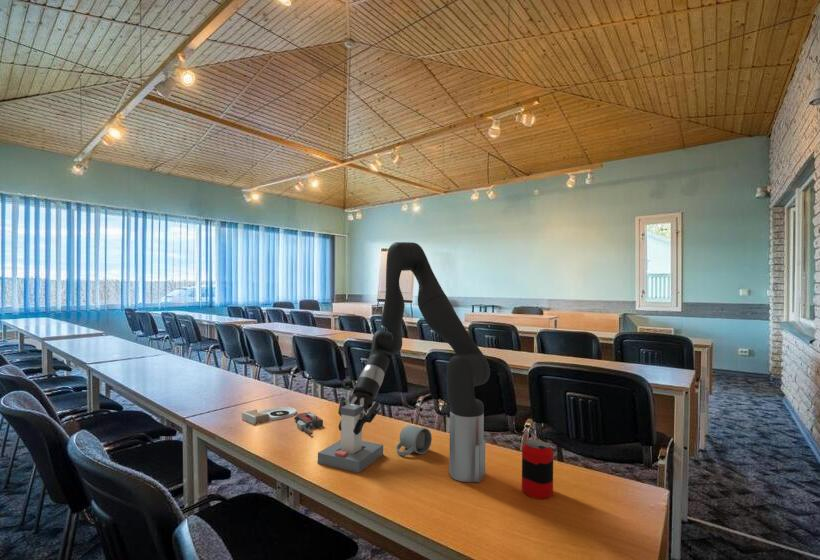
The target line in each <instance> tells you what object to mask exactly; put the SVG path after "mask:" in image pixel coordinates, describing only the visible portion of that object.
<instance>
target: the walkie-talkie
mask: <svg viewBox="0 0 820 560" xmlns="http://www.w3.org/2000/svg"><path fill="white" fill-rule="evenodd" d="M293 419H294V420H295V422H296V428H297V429H298V430H299V431H305V433H307V434H309V435H311V436H312V435H313V434H314V433H313V431H312V430H313V429H317V428H318V429H319V428H322V427H324V420H323V419H322V418H321V417H319V416H318V415H316V414H315V413H313V412H310V411H306V412H301V413H296V415H295V416H294V417H293Z"/></svg>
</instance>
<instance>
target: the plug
mask: <svg viewBox="0 0 820 560" xmlns="http://www.w3.org/2000/svg"><path fill="white" fill-rule="evenodd" d="M362 408H363V406H362V405H356V404H350V403H348V405H345V406H343V407H341V416H340V417H341V418H340V421H341V431H340V440H341V451H345V452H348V453H350V454H355V453H356V452H358V451H359V450H361V449H362V441H363V429H362V430H361V432H360V433H358V435H356V434H355V433H354V432H353V430H354V428H355V426H356V423H357V421H358V420H359V416H360V414H361V410H362Z"/></svg>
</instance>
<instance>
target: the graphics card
mask: <svg viewBox="0 0 820 560" xmlns="http://www.w3.org/2000/svg"><path fill="white" fill-rule="evenodd" d="M296 415H297V409H296V408H294V407H288V406H281V407H280V406H279V407H273V408H270V409H269V408H268V409H263V410H259V411H258V410H257V409H253V410H248V411H243V412H241V420H242V419H243V421H244V420H245V421H244V422H246V421H247V423H249V424H251V425H254V424H255V425H258V423H259V424H262V423H266V422H271V421H272V420H274V421H278V419H279V420H283V419H285V418H286V417H287V418H290V417H293V416H296ZM282 418H283V419H282Z"/></svg>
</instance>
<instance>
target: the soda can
mask: <svg viewBox="0 0 820 560" xmlns="http://www.w3.org/2000/svg"><path fill="white" fill-rule="evenodd" d="M521 490H522V492H523V493H524V494H525V495H527V496H528V497H530V498H533V497H534V498H533V499H537V498H540V499H539V500H545V499H544V498H547V499H549V498H551V497H552V496H553V494H554V450H553V449H552V447H551V446H550V444H549V443H548V442H546V441H542V440H538V439H537V440H536V439H533V440H528V441H526V442H525V444H524V445H523V446H522V449H521Z"/></svg>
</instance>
